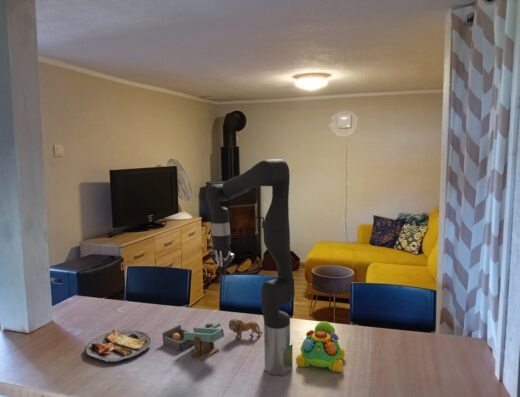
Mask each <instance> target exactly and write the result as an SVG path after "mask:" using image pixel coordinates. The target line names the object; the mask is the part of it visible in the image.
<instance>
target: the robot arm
mask: <svg viewBox="0 0 520 397" xmlns="http://www.w3.org/2000/svg"><path fill="white" fill-rule="evenodd" d="M257 187H271V192H272V194H271V203H270V205H269V208H268V209H267V212H266V215H265V217H264V220H263V224H262V227H263V228H262V229H263V231H262V233H263V234H262V235H263V243H264V246H265V248H266V250H267V251H268V252H269V254H270V255H271V257H272V259H273V260H274V262H275V265H276V270H277V271H276V272H277V278H273V279H270V280H266V281H264V282H263V283H262V285H261V288H260V292H261V294H260V296H261V299H260V301H261V312H262V316H263V317H262V318H263V328H264V329H263V332H264V333H263V334H264V335H263V336H264V337H263V338H264V340H263V341H264V342H263V343H264V345H263V347H264V351H263V352H264V370H265V372H267V373H268V374H269V375H273V376H281V377H284V376H285V375H286V374H288V373H289V372H290V371H292V370H293V368H294V367H293V362H294V360H293V343H291V317H290V316H291V315H289V314H288V313H287V312H285V311H283V310H280V307H279V306H283V305H286V304H290V303H291V302H292V301H293V300H294V298H295V294H296V293H295V292H296V291H295V290H296V288H295V282H294V274H293V266H292V258H291V257H292V256H291V232H290V214H289V213H290V212H289V211H290V210H289V209H290V208H289V207H290V206H289V200H290V199H289V192H290V168H289V165H288V163H287V162H286V161H285V160H284V159H281V158H275V159H273V158H271V159H270V158H269V159H262V160H261V161H259V162H257V163H256V164H255V165H252V167H250V168H249V169H248V170H246V171H245V172H243V173H241V174H239V175H236V176H234V177H231V178H230V179H227V180H226V181H225V182H223V183H219V184H217V183H216V184H211V185H209V186H208V187H207V189H206V193H205V195H206V200H207V202H208V205H209V209H210V213H211V227H210V228H211V245H212V249H211V250H209V251H208V255H209V256H210V258H211V260H212V261H213V264H215V265H217V267H218V274H219V276H222V277H223V276H225V275H226V274H227V266H229V265H231V263H232V261H233V260H234V258H235V256H236V254H235V253H233V252H232V251H231V250H232V249H231V247H230V245H231V227H230V226H231V225H230V212H229V208H227V207H225V206H221V203H220V202H228V201H230V200H233V199H234V198H235V197H238V196H240V195H243V194H245V193H247V192H248V191H250V189H252V188H257Z"/></svg>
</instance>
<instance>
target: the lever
mask: <svg viewBox="0 0 520 397" xmlns="http://www.w3.org/2000/svg"><path fill="white" fill-rule="evenodd" d="M219 327H221V322H211V323H206V324H205V325H204V326H203V327H201V326H200V327H199V326H194V327H193V332H192V331H189V332H184V338H185V340H194V337H197V338H200V341H205V342H214V343H215V342H217V341H218V340H220V339H221V338H223V337H225V332H224V328H219Z"/></svg>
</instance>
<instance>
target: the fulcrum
mask: <svg viewBox="0 0 520 397" xmlns="http://www.w3.org/2000/svg"><path fill="white" fill-rule="evenodd" d="M214 343H215V342H205V341H200V338H197V337H194V346H193V347H194V352H192V353H191V354H189V358H192V359H194V360H197V361H198V362H202V361H204V360H206V359H209V357H212V355H214V354H215V353H218V352H220V348H218V347H215V344H214Z"/></svg>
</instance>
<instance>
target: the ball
mask: <svg viewBox="0 0 520 397" xmlns="http://www.w3.org/2000/svg"><path fill="white" fill-rule="evenodd" d="M172 339H173V340H176V341H178V340H179V339H180V335H179V334H178V333H174V334H173V336H172Z"/></svg>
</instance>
